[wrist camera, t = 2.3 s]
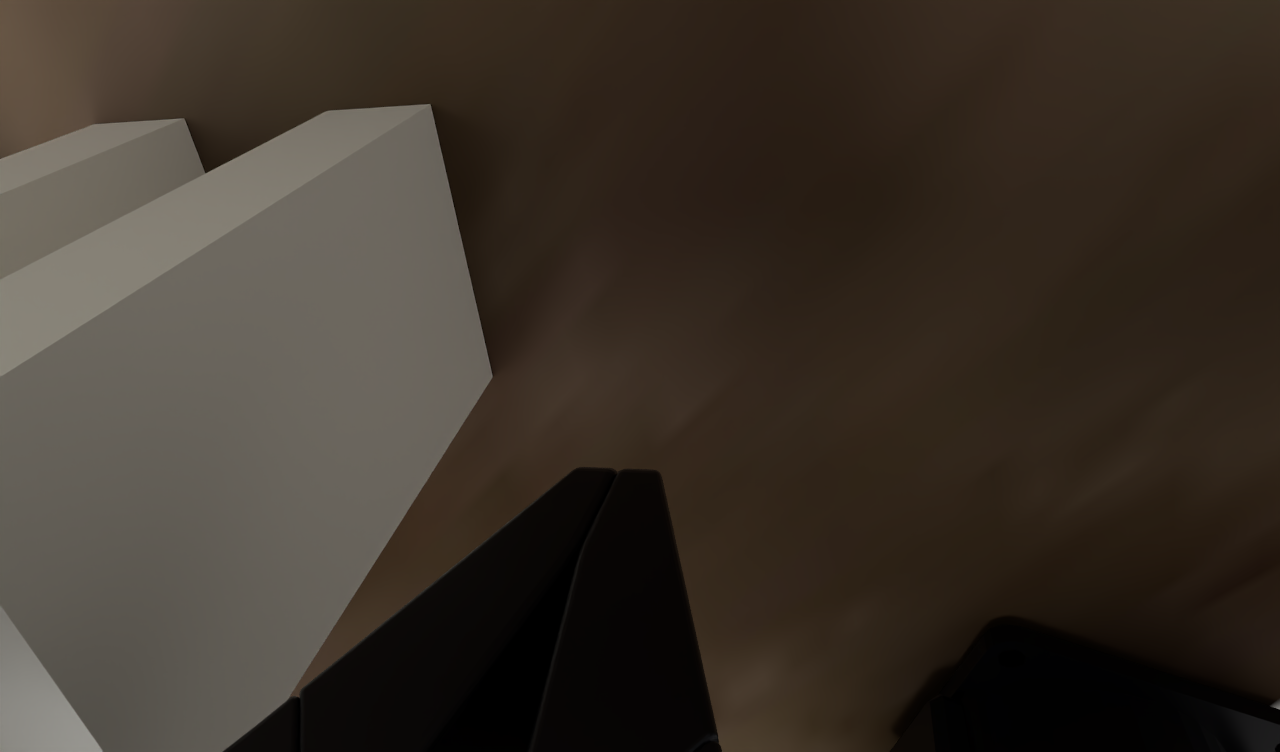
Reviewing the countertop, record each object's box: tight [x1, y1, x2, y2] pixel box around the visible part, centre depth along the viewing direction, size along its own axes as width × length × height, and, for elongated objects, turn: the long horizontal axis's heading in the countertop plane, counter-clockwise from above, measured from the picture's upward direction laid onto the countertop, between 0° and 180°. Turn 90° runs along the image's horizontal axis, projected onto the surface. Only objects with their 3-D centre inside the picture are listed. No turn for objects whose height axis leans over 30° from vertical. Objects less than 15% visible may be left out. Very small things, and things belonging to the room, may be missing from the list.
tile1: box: [0, 104, 493, 752], centre depth 11 cm, size 2×5×9 cm, turn 7°
